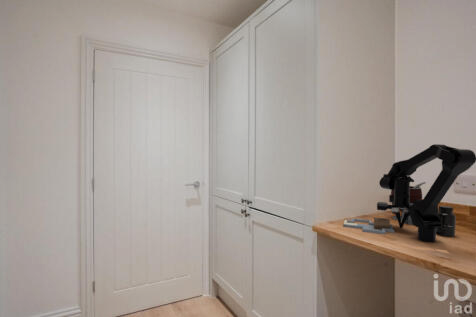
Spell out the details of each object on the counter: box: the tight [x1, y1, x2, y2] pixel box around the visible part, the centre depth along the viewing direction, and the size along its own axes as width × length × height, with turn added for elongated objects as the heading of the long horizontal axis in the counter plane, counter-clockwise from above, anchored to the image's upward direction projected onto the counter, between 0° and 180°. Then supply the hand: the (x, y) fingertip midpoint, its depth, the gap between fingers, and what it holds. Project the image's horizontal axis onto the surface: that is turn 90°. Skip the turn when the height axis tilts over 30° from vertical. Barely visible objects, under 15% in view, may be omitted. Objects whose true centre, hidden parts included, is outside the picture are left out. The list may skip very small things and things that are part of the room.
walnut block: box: [373, 217, 391, 231], centre depth 120 cm, size 5×6×4 cm
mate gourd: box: [390, 181, 426, 221], centre depth 141 cm, size 16×14×20 cm
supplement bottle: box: [436, 205, 457, 238], centre depth 115 cm, size 7×7×12 cm
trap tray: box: [342, 218, 395, 235], centre depth 122 cm, size 20×19×2 cm
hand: (401, 227), depth 117 cm, fingers closed
